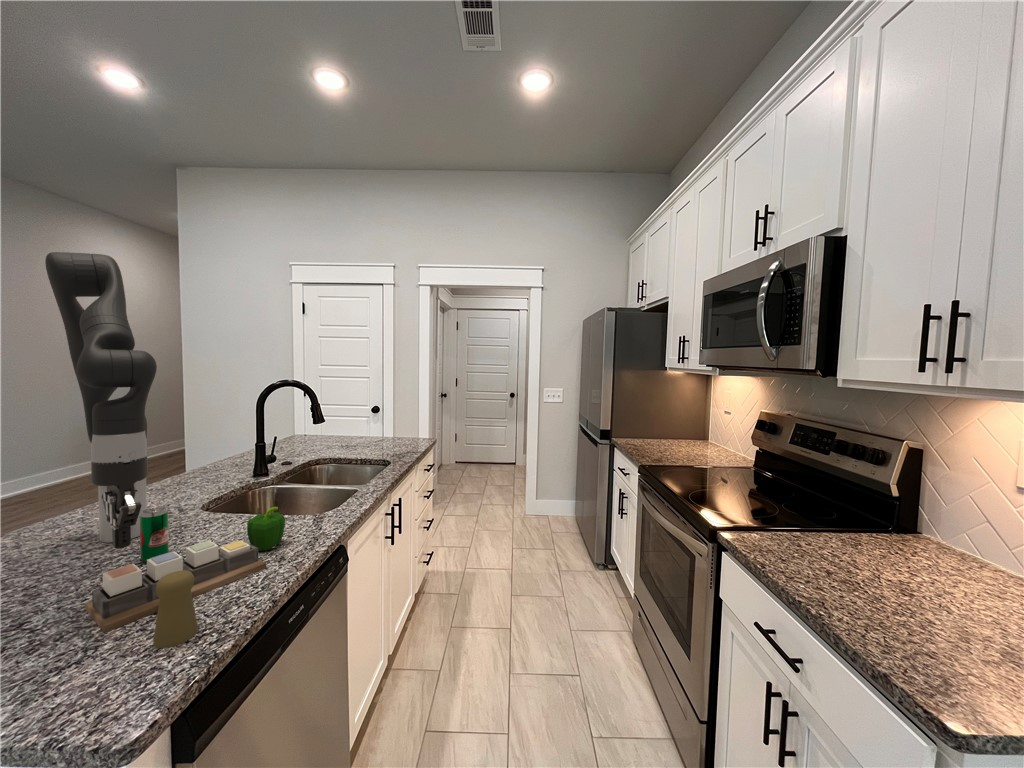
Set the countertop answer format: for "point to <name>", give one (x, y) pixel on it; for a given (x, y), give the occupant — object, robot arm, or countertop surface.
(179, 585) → the cork
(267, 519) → the bell pepper
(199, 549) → the key
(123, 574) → the key
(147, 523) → the soda can
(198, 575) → the keypad
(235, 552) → the key
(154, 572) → the key
